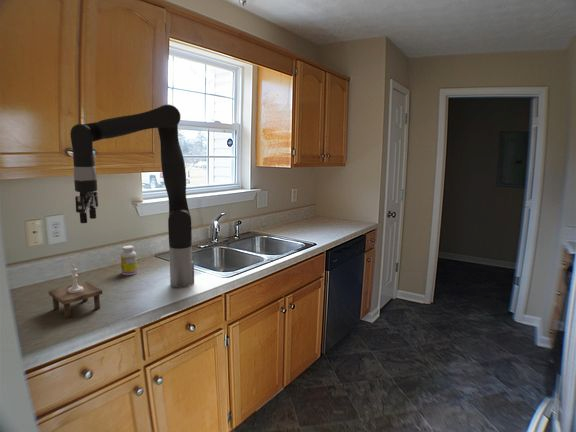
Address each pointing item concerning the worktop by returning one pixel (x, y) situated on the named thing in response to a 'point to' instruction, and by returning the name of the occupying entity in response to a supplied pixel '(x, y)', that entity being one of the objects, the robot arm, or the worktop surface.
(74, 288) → the chess piece
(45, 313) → the worktop surface
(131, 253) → the supplement bottle
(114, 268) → the worktop surface
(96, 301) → the small wooden table
